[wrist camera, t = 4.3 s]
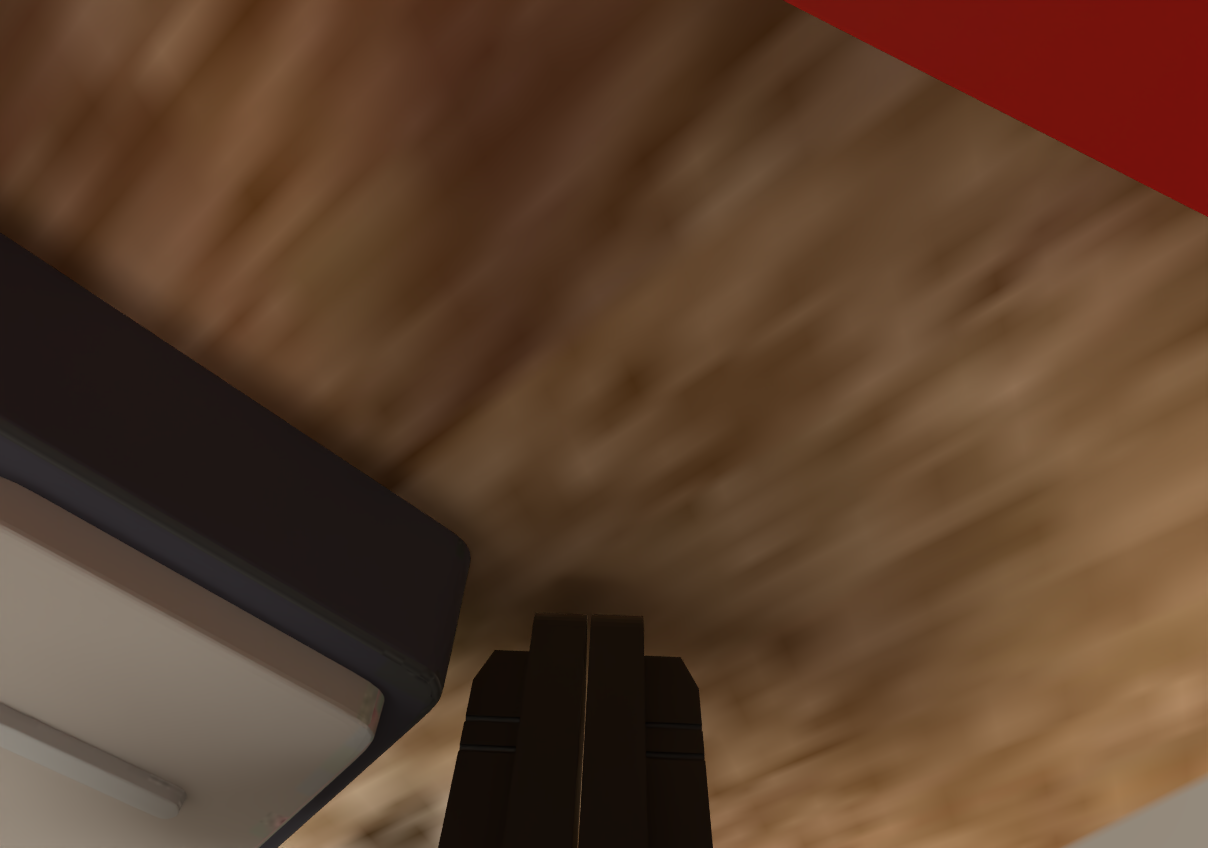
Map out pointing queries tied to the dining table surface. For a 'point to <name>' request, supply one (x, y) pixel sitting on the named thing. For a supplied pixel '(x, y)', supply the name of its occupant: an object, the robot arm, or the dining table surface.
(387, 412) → the dining table surface
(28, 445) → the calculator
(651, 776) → the robot arm
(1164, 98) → the book
